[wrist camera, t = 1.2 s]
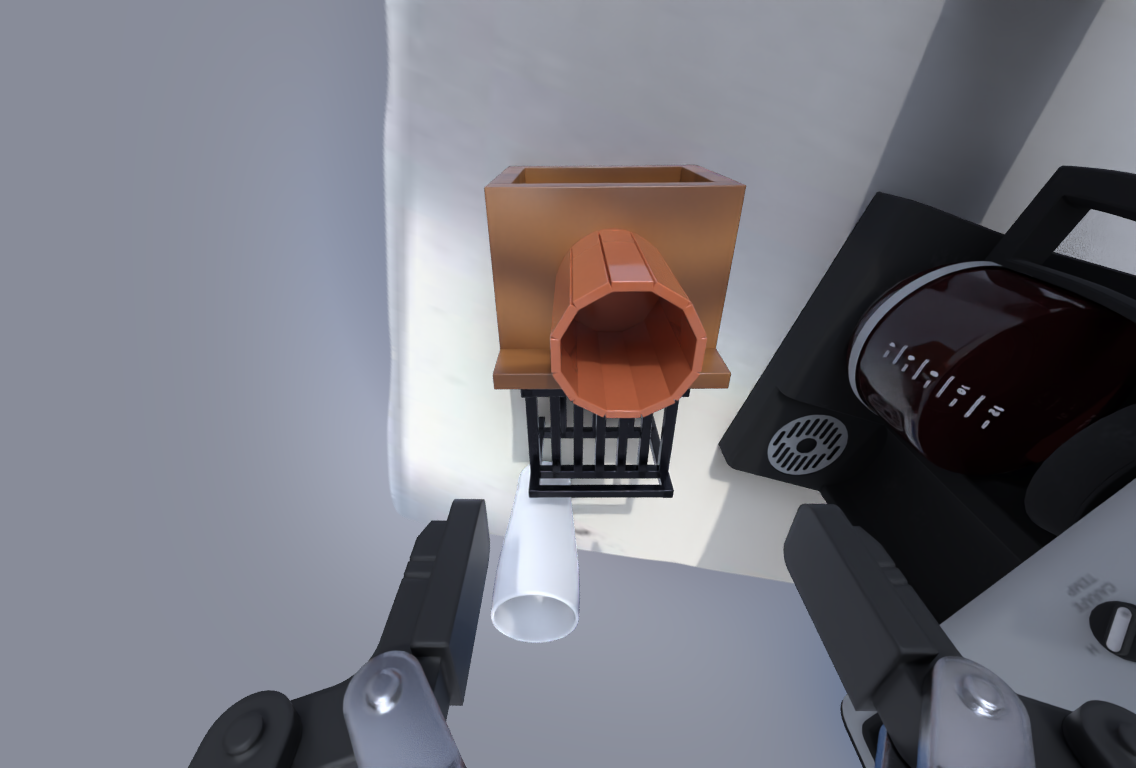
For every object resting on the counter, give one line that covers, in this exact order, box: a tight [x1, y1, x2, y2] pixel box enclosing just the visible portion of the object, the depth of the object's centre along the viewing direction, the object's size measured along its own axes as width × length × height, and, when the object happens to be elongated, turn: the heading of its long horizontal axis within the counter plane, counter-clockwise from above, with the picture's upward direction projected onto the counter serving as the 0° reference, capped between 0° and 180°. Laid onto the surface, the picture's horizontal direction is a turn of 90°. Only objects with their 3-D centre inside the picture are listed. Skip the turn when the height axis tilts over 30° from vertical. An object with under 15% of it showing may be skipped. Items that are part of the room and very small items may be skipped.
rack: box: [521, 389, 690, 498], centre depth 35 cm, size 10×11×10 cm
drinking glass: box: [491, 461, 580, 643], centre depth 39 cm, size 7×7×15 cm
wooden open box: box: [484, 165, 746, 389], centre depth 27 cm, size 10×13×13 cm
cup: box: [550, 228, 707, 418], centre depth 21 cm, size 6×6×8 cm
